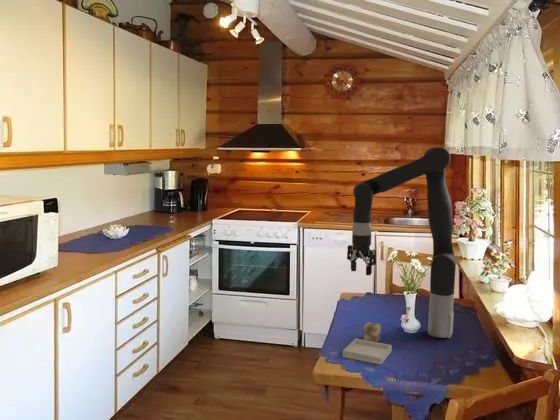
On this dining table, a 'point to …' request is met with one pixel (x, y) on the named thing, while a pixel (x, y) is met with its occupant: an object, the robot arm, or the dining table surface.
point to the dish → (367, 351)
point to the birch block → (372, 332)
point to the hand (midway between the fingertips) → (360, 273)
